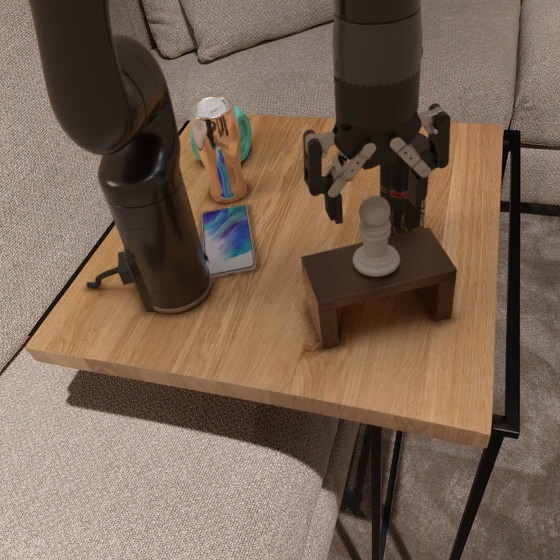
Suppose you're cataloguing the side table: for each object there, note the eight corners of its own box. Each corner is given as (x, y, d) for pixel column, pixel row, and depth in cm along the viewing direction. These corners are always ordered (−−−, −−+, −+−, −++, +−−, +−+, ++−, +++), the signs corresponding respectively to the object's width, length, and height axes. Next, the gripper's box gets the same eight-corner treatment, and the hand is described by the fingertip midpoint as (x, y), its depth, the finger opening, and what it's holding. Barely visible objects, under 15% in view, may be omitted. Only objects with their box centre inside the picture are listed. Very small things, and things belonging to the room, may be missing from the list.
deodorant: (422, 251, 79) (428, 156, 69) (378, 250, 81) (377, 156, 70) (423, 224, 83) (430, 130, 73) (381, 222, 85) (381, 130, 74)
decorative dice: (213, 142, 107) (204, 101, 101) (254, 145, 104) (247, 104, 99) (196, 167, 101) (185, 125, 96) (238, 170, 99) (230, 128, 93)
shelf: (322, 349, 69) (317, 302, 64) (306, 302, 75) (300, 256, 69) (451, 318, 70) (457, 269, 65) (425, 274, 76) (429, 226, 71)
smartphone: (204, 277, 80) (201, 212, 91) (206, 281, 81) (202, 216, 92) (256, 266, 80) (246, 203, 91) (257, 271, 81) (247, 207, 92)
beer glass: (202, 204, 93) (180, 119, 83) (214, 179, 98) (194, 95, 88) (245, 205, 92) (228, 118, 81) (254, 179, 96) (239, 94, 86)
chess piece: (346, 273, 66) (343, 210, 60) (360, 244, 70) (358, 181, 64) (392, 282, 64) (394, 218, 58) (405, 251, 68) (407, 187, 62)
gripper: (437, 31, 54) (426, 177, 65) (287, 60, 53) (302, 204, 64) (473, 63, 49) (454, 217, 60) (307, 97, 48) (319, 247, 59)
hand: (375, 210), depth 62 cm, fingers open, 8 cm apart
